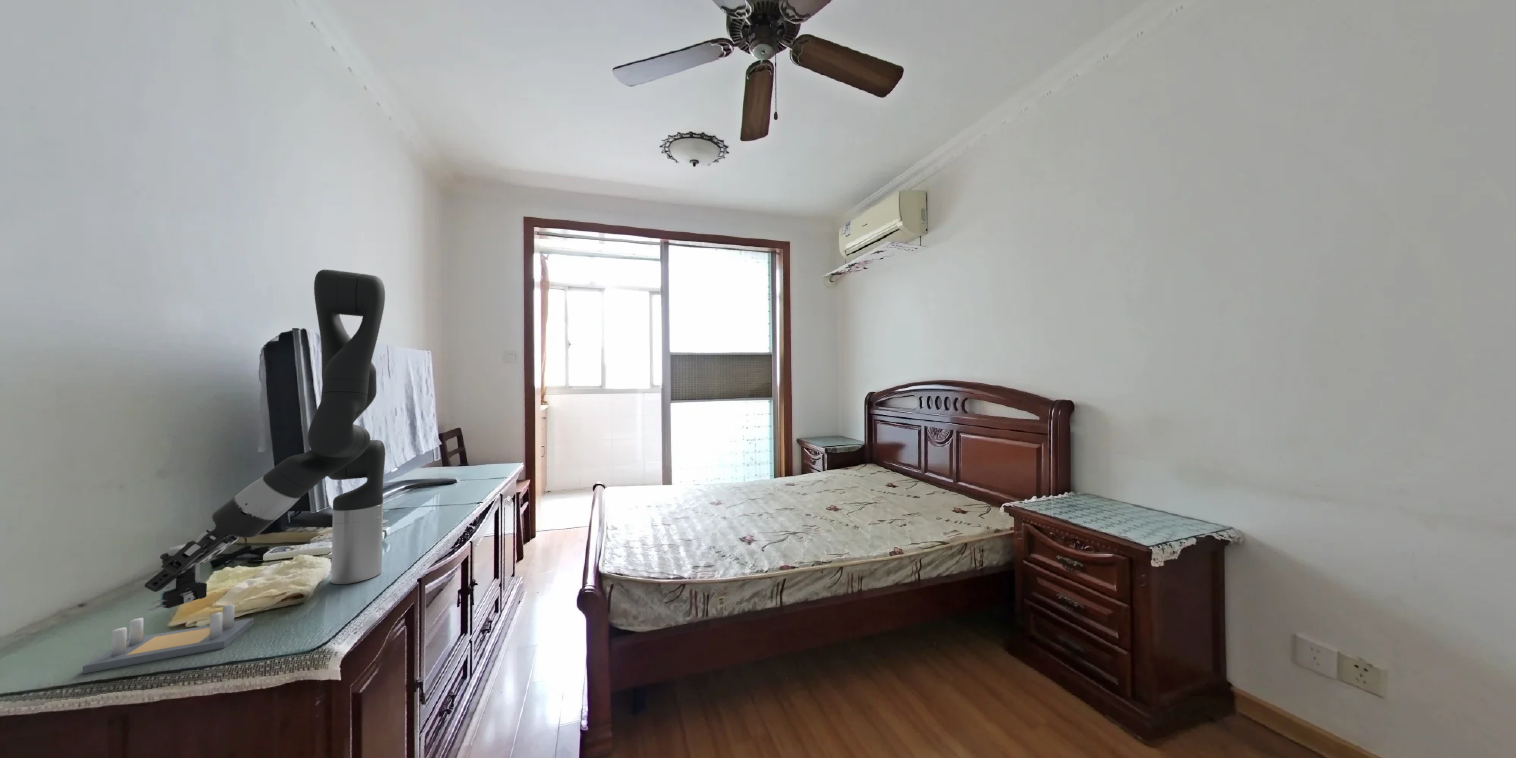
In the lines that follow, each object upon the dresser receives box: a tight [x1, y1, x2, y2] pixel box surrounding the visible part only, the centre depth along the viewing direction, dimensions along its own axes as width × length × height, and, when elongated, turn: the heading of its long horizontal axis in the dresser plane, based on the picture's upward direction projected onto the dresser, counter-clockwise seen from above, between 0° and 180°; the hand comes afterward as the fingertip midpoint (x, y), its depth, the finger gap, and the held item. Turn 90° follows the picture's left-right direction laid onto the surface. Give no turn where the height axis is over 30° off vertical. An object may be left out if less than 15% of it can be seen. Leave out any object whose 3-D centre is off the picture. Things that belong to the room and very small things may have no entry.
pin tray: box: [82, 603, 254, 674], centre depth 79 cm, size 9×16×5 cm, turn 116°
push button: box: [147, 543, 208, 611], centre depth 79 cm, size 7×5×10 cm
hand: (163, 582), depth 79 cm, fingers closed on push button, 4 cm apart
